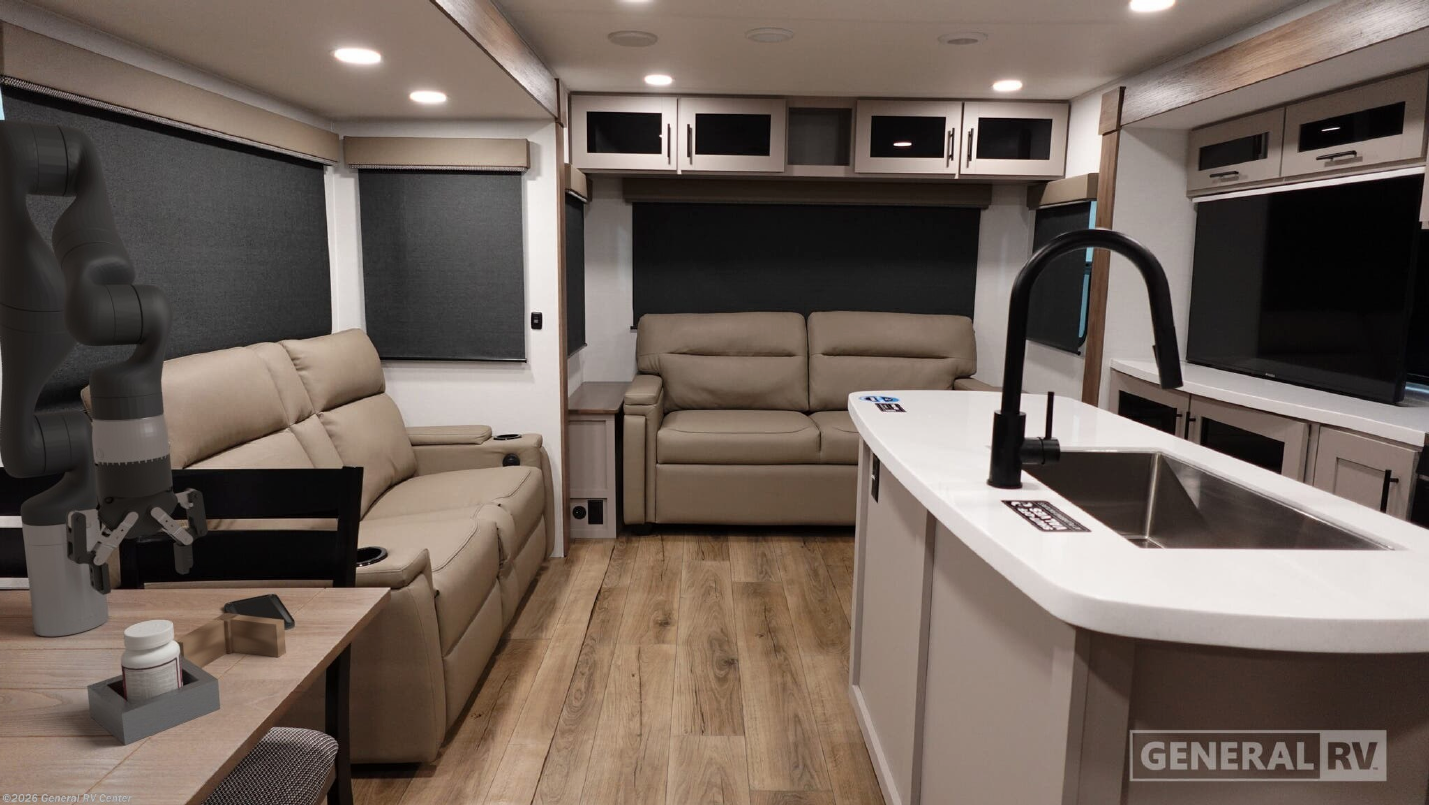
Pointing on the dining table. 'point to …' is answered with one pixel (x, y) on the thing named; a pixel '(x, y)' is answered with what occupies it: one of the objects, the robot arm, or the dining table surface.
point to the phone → (262, 609)
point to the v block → (233, 638)
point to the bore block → (153, 705)
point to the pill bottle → (150, 660)
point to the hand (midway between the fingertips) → (144, 582)
